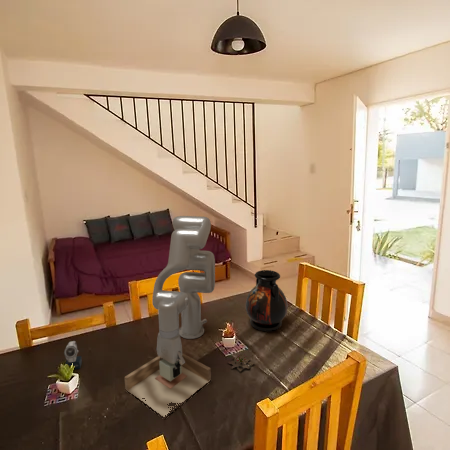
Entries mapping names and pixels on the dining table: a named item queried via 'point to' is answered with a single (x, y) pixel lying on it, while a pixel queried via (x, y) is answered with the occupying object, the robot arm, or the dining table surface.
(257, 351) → the dining table surface
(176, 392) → the tray
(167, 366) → the cube
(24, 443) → the dining table surface
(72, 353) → the watch
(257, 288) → the amphora vase
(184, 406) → the dining table surface
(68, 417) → the dining table surface
